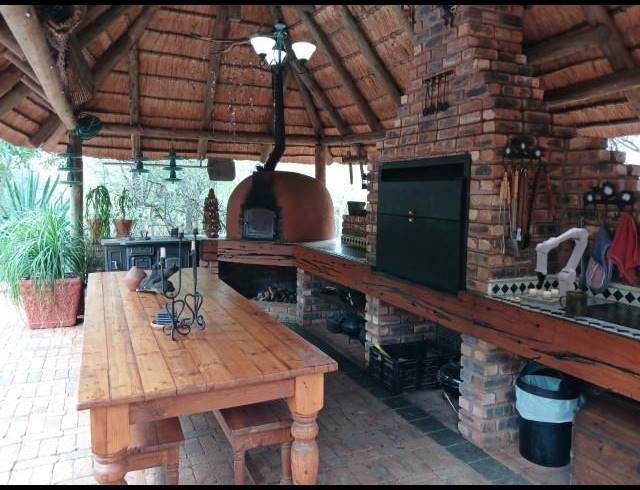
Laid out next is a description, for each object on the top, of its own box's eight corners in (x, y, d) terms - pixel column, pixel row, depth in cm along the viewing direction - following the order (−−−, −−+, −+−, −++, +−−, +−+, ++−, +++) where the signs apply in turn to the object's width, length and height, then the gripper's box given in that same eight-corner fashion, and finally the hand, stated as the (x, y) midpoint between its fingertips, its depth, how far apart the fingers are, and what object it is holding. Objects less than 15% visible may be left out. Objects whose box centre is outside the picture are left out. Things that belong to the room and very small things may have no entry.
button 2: (545, 298, 304) (545, 290, 304) (551, 299, 301) (552, 291, 300) (541, 298, 302) (542, 291, 301) (548, 300, 298) (548, 292, 298)
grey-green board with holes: (536, 295, 322) (536, 292, 321) (567, 300, 306) (568, 297, 306) (519, 299, 310) (519, 296, 309) (550, 305, 294) (551, 301, 294)
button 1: (553, 296, 309) (553, 289, 309) (559, 297, 306) (559, 290, 306) (549, 297, 307) (550, 289, 307) (556, 298, 304) (556, 290, 303)
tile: (512, 297, 317) (513, 296, 317) (526, 299, 310) (526, 298, 310) (504, 298, 311) (504, 297, 311) (518, 301, 304) (518, 300, 304)
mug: (591, 316, 267) (592, 294, 266) (562, 316, 268) (563, 294, 267) (582, 311, 278) (583, 290, 276) (554, 311, 279) (555, 290, 278)
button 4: (531, 295, 311) (531, 288, 311) (537, 296, 308) (537, 289, 307) (527, 296, 309) (528, 289, 308) (534, 297, 306) (534, 290, 305)
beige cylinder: (539, 296, 317) (539, 289, 316) (545, 297, 314) (545, 290, 313) (535, 297, 314) (535, 290, 314) (541, 298, 311) (542, 291, 311)
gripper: (531, 261, 319) (531, 282, 321) (538, 264, 305) (537, 286, 306) (543, 261, 318) (542, 282, 320) (550, 264, 304) (549, 286, 306)
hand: (541, 284), depth 313 cm, fingers closed
